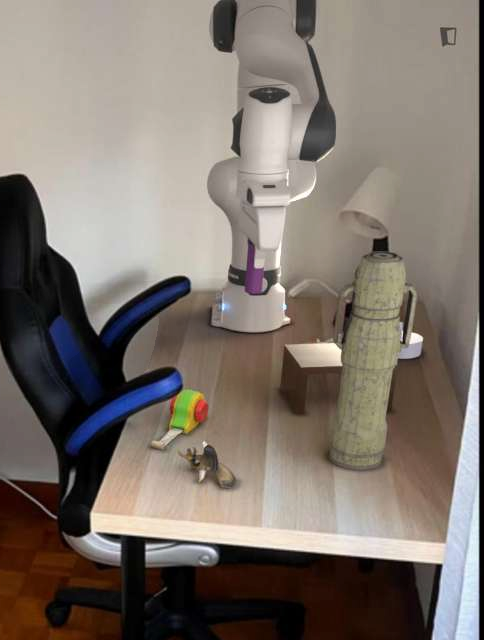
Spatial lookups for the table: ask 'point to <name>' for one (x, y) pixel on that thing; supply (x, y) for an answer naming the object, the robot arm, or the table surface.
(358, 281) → the thermos
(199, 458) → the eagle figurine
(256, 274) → the marker
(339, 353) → the small wooden stool
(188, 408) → the toy measuring tape
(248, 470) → the table surface
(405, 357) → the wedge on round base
